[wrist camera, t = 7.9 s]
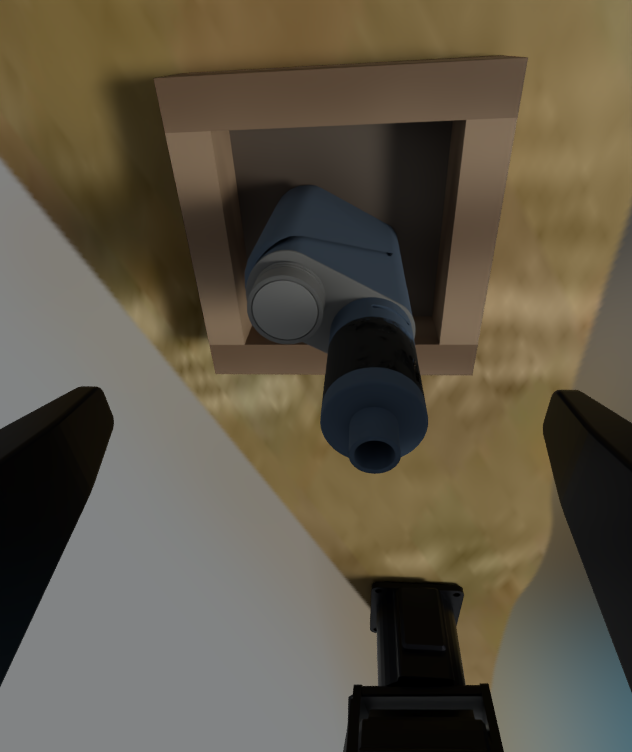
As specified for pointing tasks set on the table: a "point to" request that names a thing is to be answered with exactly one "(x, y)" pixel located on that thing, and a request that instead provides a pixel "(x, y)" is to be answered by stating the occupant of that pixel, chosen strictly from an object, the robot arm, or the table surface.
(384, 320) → the vaping device
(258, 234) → the socket block
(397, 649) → the robot arm
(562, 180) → the table surface
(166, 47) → the table surface
